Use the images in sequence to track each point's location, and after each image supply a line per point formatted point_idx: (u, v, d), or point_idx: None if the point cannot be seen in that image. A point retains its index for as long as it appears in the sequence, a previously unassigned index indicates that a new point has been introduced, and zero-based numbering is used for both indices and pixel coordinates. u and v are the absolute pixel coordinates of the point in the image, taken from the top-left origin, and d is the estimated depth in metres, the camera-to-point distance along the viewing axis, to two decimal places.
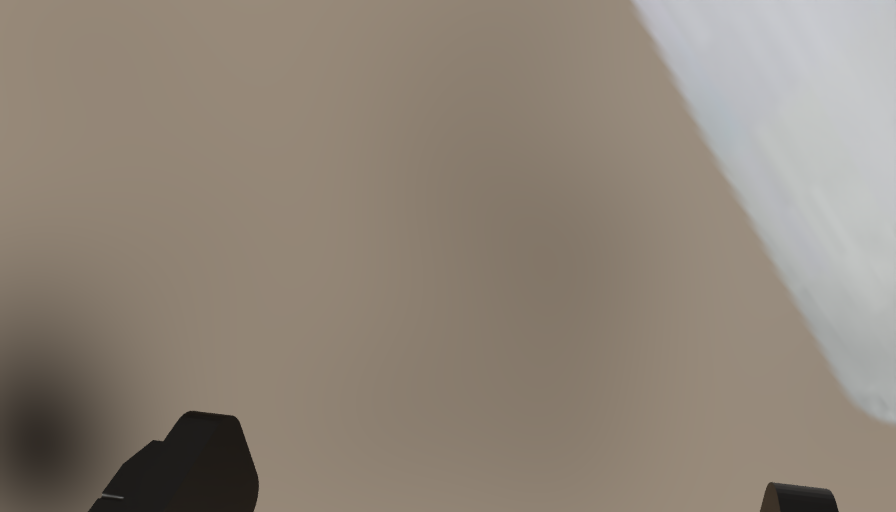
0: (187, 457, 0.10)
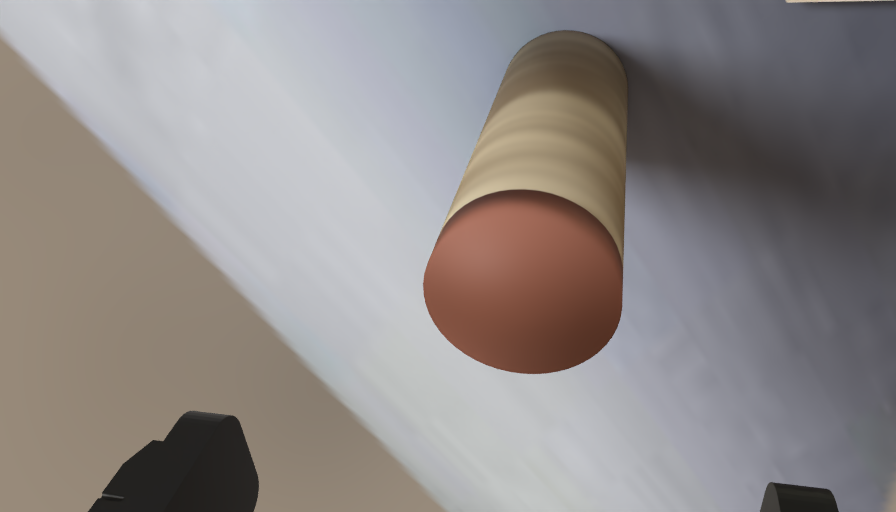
0: (187, 457, 0.10)
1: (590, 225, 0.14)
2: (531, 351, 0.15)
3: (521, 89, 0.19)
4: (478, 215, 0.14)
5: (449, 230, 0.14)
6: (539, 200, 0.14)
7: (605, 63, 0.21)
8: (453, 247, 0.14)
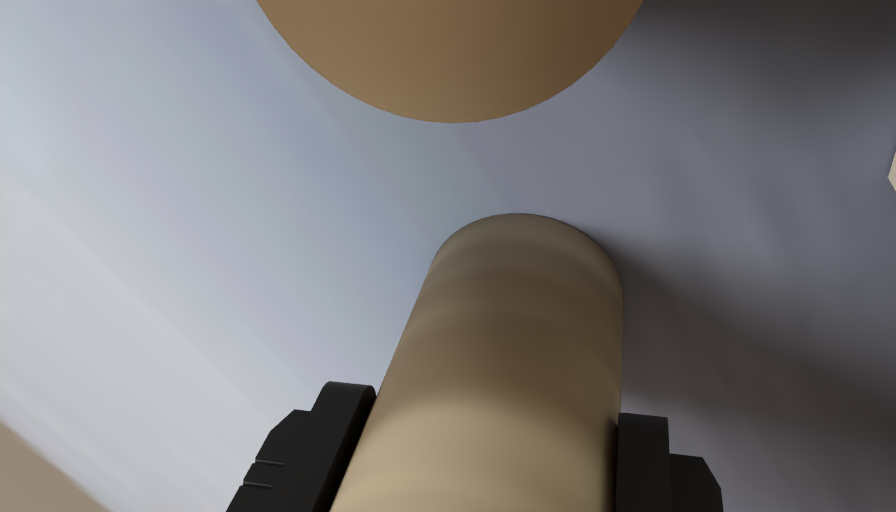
0: (339, 423, 0.11)
1: None
2: None
3: (425, 378, 0.10)
4: None
5: None
6: None
7: (584, 288, 0.12)
8: None
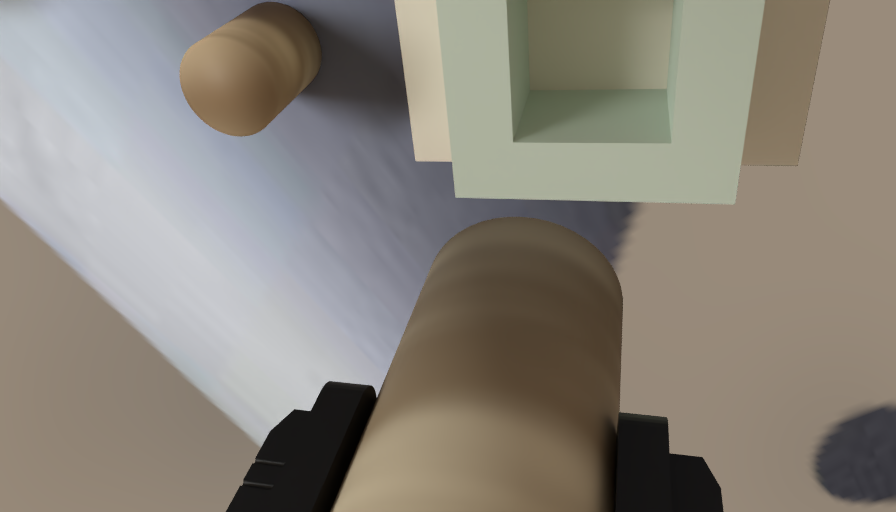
0: (339, 423, 0.11)
1: None
2: None
3: (425, 381, 0.10)
4: None
5: None
6: None
7: (583, 292, 0.12)
8: None
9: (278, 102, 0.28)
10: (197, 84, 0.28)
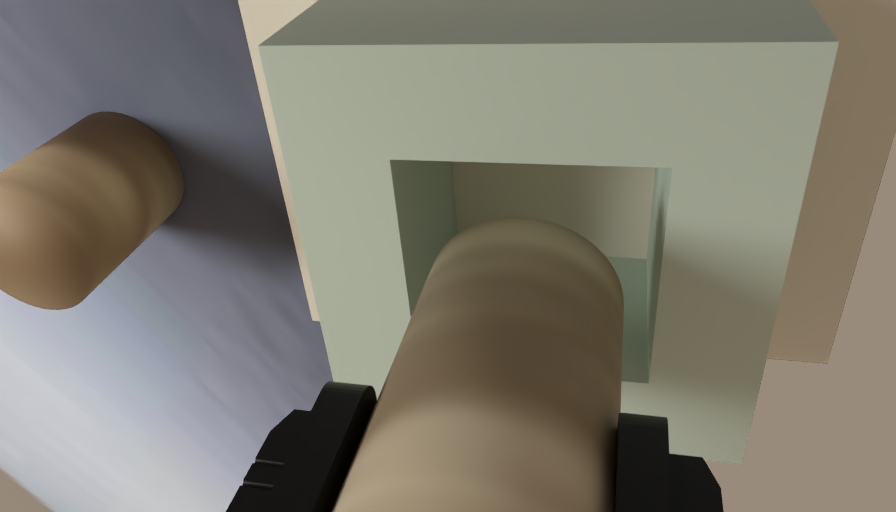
0: (339, 423, 0.11)
1: None
2: None
3: (425, 381, 0.10)
4: None
5: None
6: None
7: (584, 291, 0.12)
8: None
9: (95, 271, 0.20)
10: None
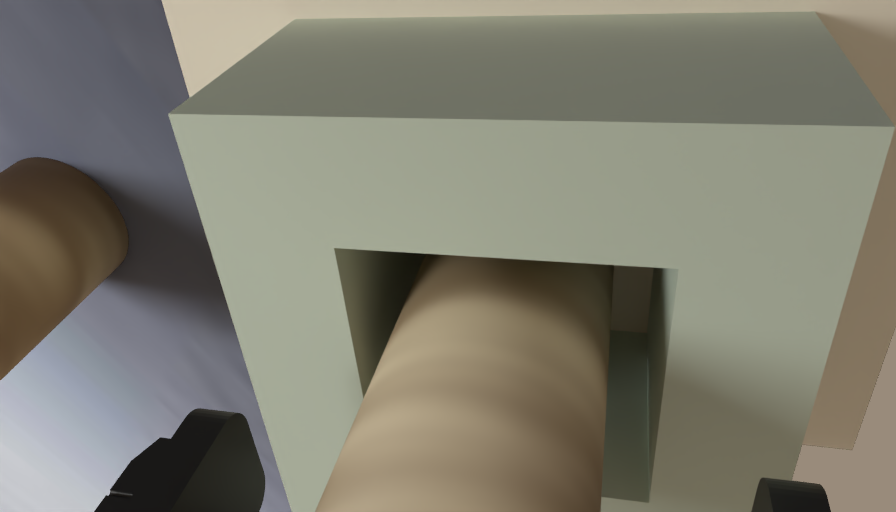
0: (195, 454, 0.10)
1: None
2: None
3: (446, 282, 0.12)
4: None
5: None
6: None
7: None
8: None
9: (15, 347, 0.17)
10: None
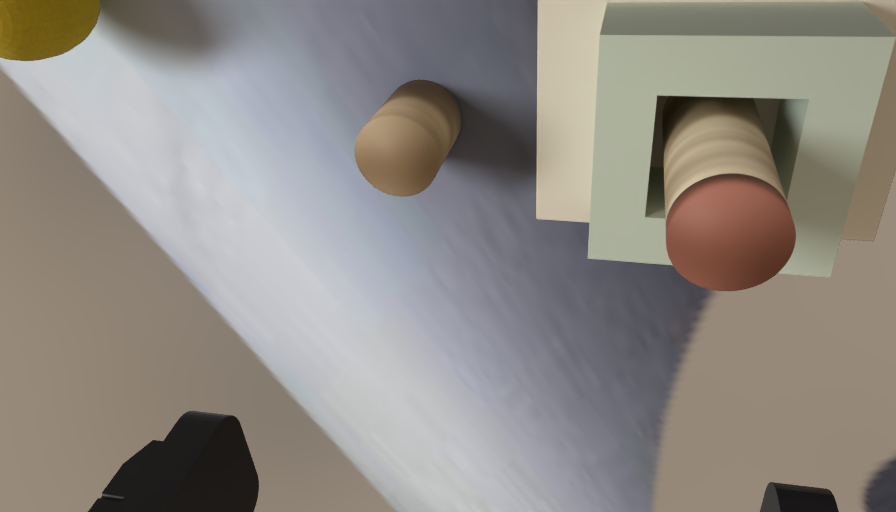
0: (187, 457, 0.10)
1: (778, 195, 0.23)
2: (730, 275, 0.24)
3: (700, 113, 0.28)
4: (711, 187, 0.23)
5: (689, 197, 0.23)
6: (747, 179, 0.23)
7: None
8: (692, 207, 0.23)
9: (437, 170, 0.33)
10: (369, 152, 0.33)
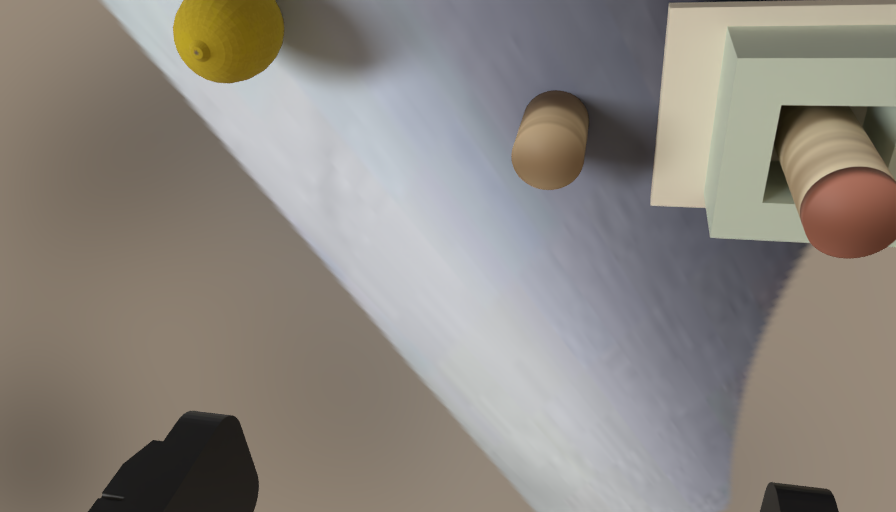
0: (187, 457, 0.10)
1: (895, 183, 0.30)
2: (853, 246, 0.31)
3: (813, 117, 0.35)
4: (844, 178, 0.30)
5: (825, 185, 0.30)
6: (871, 171, 0.30)
7: None
8: (828, 193, 0.30)
9: (581, 168, 0.40)
10: (524, 154, 0.40)
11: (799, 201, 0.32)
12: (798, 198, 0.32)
